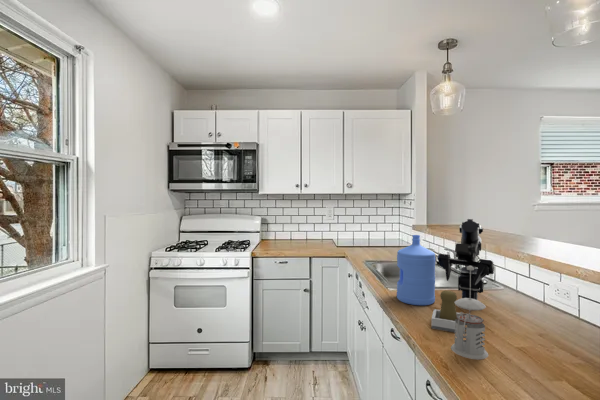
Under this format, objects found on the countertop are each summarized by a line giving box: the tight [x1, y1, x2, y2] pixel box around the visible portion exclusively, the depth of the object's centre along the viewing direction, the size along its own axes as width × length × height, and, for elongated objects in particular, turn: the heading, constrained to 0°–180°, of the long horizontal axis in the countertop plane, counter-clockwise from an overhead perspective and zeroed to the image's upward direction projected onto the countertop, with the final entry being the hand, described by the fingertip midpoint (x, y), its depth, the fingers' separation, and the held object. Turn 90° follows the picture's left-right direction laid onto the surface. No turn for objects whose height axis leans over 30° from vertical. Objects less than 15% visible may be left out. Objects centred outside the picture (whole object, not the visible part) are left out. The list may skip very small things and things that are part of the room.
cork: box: [439, 290, 458, 321], centre depth 114 cm, size 6×6×11 cm
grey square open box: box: [430, 308, 464, 334], centre depth 114 cm, size 10×10×4 cm
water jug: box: [396, 234, 436, 306], centre depth 141 cm, size 16×16×28 cm
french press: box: [450, 266, 489, 360], centre depth 95 cm, size 10×12×25 cm
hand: (460, 282), depth 120 cm, fingers open, 9 cm apart
